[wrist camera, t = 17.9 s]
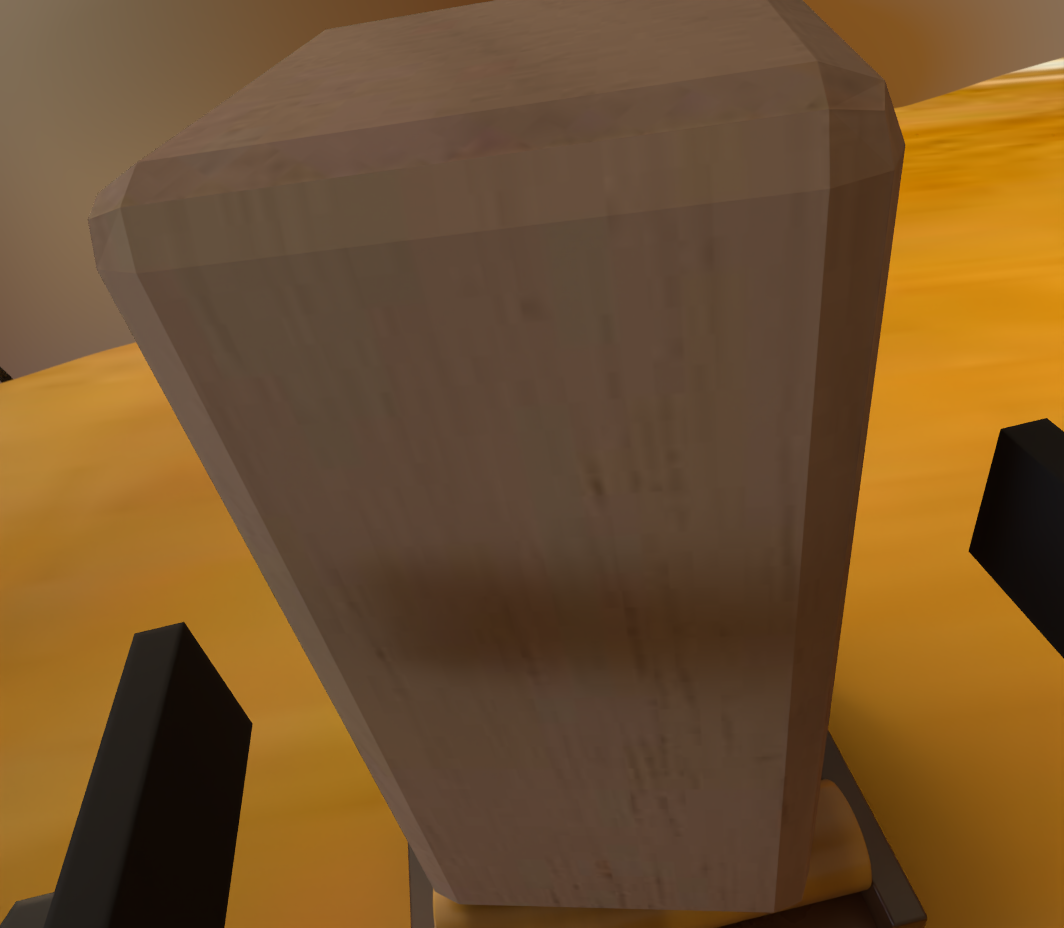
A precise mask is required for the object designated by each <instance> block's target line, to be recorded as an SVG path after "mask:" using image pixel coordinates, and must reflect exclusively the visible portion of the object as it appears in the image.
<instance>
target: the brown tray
mask: <svg viewBox="0 0 1064 928" xmlns="http://www.w3.org/2000/svg"><path fill="white" fill-rule="evenodd" d="M408 858H409V885H410V912H411V928H924V926H925V924H926V921H927V915H926V913H925V911H924V909H923V907H922V905H921V903H920V901H919V900H918V898H917V896H916V894H915V892H914V890H913V888H912V886H911V885H910V883H909V881H908V879H907V877H906V875H905V873H904V871H903V870H902V868H901V866H900V864H899V862H898V860H897V858H896V856H895V855H894V853H893V851H892V849H891V847H890V845H889V843H888V841H887V840H886V838H885V836H884V834H883V832H882V830H881V828H880V826H879V825H878V823H877V821H876V819H875V817H874V815H873V813H872V811H871V809H870V808H869V806H868V804H867V802H866V800H865V798H864V796H863V794H862V793H861V791H860V789H859V787H858V785H857V783H856V781H855V779H854V778H853V776H852V774H851V772H850V770H849V768H848V766H847V764H846V763H845V761H844V759H843V757H842V755H841V753H840V751H839V749H838V748H837V746H836V744H835V742H834V740H833V738H832V736H831V734H830V733H829V731H827V738H826V746H825V753H824V761H823V768H822V776H821V783H820V791H819V798H818V806H817V814H816V821H815V829H814V836H813V844H812V851H811V859H810V866H809V873H808V877H807V881H806V885H805V889H804V894H803V898H802V901H800V902H799V903H797V904H795V905H792V906H789V907H786V908H784V909H781V910H779V911H777V912H774V913H768V912H730V911H693V910H656V909H619V908H581V907H544V906H507V905H469V904H458V903H456V902H454V901H452V900H450V899H448V898H446V897H444V896H442V895H440V894H439V893H437V892H435V890H434V888H433V887H432V885H431V883H430V881H429V879H428V877H427V876H426V874H425V872H424V870H423V868H422V866H421V865H420V863H419V861H418V859H417V857H416V855H415V854H414V852H413V850H412V848H411V846H410V844H409V842H408Z"/></svg>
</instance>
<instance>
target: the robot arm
mask: <svg viewBox="0 0 1064 928" xmlns="http://www.w3.org/2000/svg"><path fill="white" fill-rule="evenodd" d="M11 380H14V379H13V378H12V377H11V376H10V375H9V374H8V373H7V372H6V371H5V370H3V369H2V368H1V367H0V381H1V382H2V383H4V382H7V381H11ZM969 552H970V553H971V554H972V556H973V557H974V558H975V559H976V560H977V561H978V562H979V563H980V565H981V566H982V567H983V568H984V569H985V570H986V571H987V572H988V574H989V575H990V576H991V577H992V578H993V579H994V580H995V581H996V583H997V584H998V585H999V586H1000V587H1001V588H1002V589H1003V590H1004V592H1005V593H1006V594H1007V595H1008V596H1009V597H1010V598H1011V599H1012V601H1013V602H1014V603H1015V604H1016V605H1017V606H1018V607H1019V608H1020V610H1021V611H1022V612H1023V613H1024V614H1025V615H1026V616H1027V618H1028V619H1029V620H1030V621H1031V622H1032V623H1033V624H1034V625H1035V627H1036V628H1037V629H1038V630H1039V631H1040V632H1041V633H1042V634H1043V636H1044V637H1045V638H1046V639H1047V640H1048V641H1049V642H1050V643H1051V645H1052V646H1053V647H1054V648H1055V649H1056V650H1057V651H1058V652H1059V654H1060V655H1061V656H1062V657H1063V658H1064V432H1063V431H1062V430H1061V429H1060V428H1058V427H1057V426H1056V425H1055V424H1053V423H1052V422H1051V421H1050V420H1048V419H1047V418H1045V419H1041V420H1037V421H1033V422H1028V423H1024V424H1020V425H1016V426H1011V427H1007V428H1003V429H1001V430H1000V434H999V437H998V441H997V445H996V449H995V453H994V456H993V460H992V464H991V468H990V472H989V475H988V479H987V483H986V487H985V491H984V494H983V498H982V502H981V506H980V510H979V513H978V517H977V521H976V525H975V529H974V533H973V536H972V540H971V544H970V548H969ZM251 731H252V722H251V721H250V719H249V718H248V716H247V715H246V713H245V712H244V710H243V709H242V708H241V706H240V705H239V703H238V702H237V700H236V699H235V697H234V696H233V694H232V693H231V691H230V690H229V688H228V687H227V685H226V684H225V682H224V681H223V679H222V678H221V676H220V675H219V673H218V672H217V670H216V669H215V667H214V666H213V664H212V663H211V661H210V660H209V658H208V657H207V655H206V654H205V652H204V651H203V649H202V648H201V647H200V645H199V644H198V642H197V641H196V639H195V638H194V636H193V635H192V633H191V632H190V630H189V629H188V627H187V626H186V624H185V623H184V622H182V623H178V624H173V625H169V626H165V627H161V628H157V629H152V630H148V631H144V632H140V633H135V634H134V637H133V641H132V644H131V647H130V650H129V653H128V657H127V660H126V663H125V666H124V670H123V673H122V676H121V679H120V682H119V686H118V689H117V692H116V695H115V699H114V702H113V705H112V708H111V711H110V715H109V718H108V721H107V724H106V728H105V731H104V734H103V737H102V740H101V744H100V747H99V750H98V753H97V757H96V760H95V763H94V766H93V769H92V773H91V776H90V779H89V782H88V786H87V789H86V792H85V795H84V798H83V802H82V805H81V808H80V811H79V815H78V818H77V821H76V824H75V827H74V831H73V834H72V837H71V840H70V844H69V847H68V850H67V853H66V856H65V860H64V863H63V866H62V869H61V873H60V876H59V879H58V882H57V885H56V889H55V892H53V893H49V894H45V895H41V896H37V897H33V898H29V899H25V900H20V901H16V902H15V904H14V905H13V907H12V908H11V910H10V911H9V913H8V914H7V916H6V917H5V919H4V920H3V922H2V923H1V925H0V928H224V926H225V919H226V912H227V904H228V897H229V890H230V883H231V875H232V868H233V861H234V854H235V847H236V839H237V832H238V825H239V818H240V810H241V803H242V796H243V789H244V781H245V774H246V767H247V760H248V753H249V745H250V738H251Z"/></svg>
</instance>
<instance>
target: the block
mask: <svg viewBox="0 0 1064 928" xmlns="http://www.w3.org/2000/svg"><path fill="white" fill-rule="evenodd" d="M904 151H905V142H904V139H903V136H902V133H901V130H900V127H899V123H898V120H897V117H896V114H895V111H894V108H893V105H892V101H891V98H890V95H889V92H888V89H887V85H886V82H885V80H884V79H883V78H882V77H881V76H880V75H879V74H878V73H877V72H876V71H875V70H873V68H872V67H870V66H869V65H868V64H867V63H866V62H865V61H864V60H863V59H862V58H861V57H860V56H859V55H858V54H857V53H856V52H855V51H854V50H853V49H852V48H851V47H850V46H849V45H848V44H847V43H846V42H844V40H843V39H842V38H841V37H840V36H839V35H837V34H836V33H835V32H834V31H833V30H832V29H831V28H830V27H829V26H828V25H827V24H826V23H825V22H824V21H823V20H822V19H821V18H820V17H819V16H818V15H817V14H816V13H815V12H814V11H813V10H812V9H811V8H810V7H809V6H808V5H807V4H806V3H805V2H804V1H803V0H495V1H489V2H483V3H477V4H472V5H466V6H460V7H454V8H449V9H443V10H437V11H432V12H425V13H420V14H414V15H408V16H403V17H396V18H391V19H385V20H379V21H374V22H368V23H362V24H356V25H350V26H345V27H339V28H333V29H327V30H325V31H323V32H322V33H321V34H319V35H318V36H316V37H315V38H313V39H312V40H311V41H309V42H308V43H306V44H305V45H304V46H302V47H301V48H299V49H298V50H296V51H295V52H293V53H292V54H291V55H289V56H288V57H286V58H285V59H283V60H282V61H281V62H279V63H278V64H277V65H275V66H274V67H272V68H271V69H269V70H268V71H266V72H265V73H264V74H262V75H261V76H259V77H258V78H256V79H255V80H254V81H252V82H251V83H249V84H248V85H246V86H245V87H244V88H242V89H241V90H239V91H238V92H236V93H235V94H234V95H232V96H231V97H229V98H228V99H227V100H225V101H224V102H222V103H221V104H220V105H218V106H217V107H215V108H214V109H212V110H211V111H210V112H208V113H207V114H205V115H204V116H202V117H201V118H199V119H198V120H197V121H195V122H194V123H192V124H191V125H189V126H188V127H187V128H185V129H184V130H182V131H181V132H180V133H178V134H177V135H175V136H174V137H172V138H171V139H169V140H168V141H167V142H165V143H164V144H162V145H161V146H159V147H158V148H157V149H155V150H154V151H152V152H151V153H149V154H148V155H147V156H145V157H144V158H142V159H141V160H139V161H138V162H137V163H135V164H134V165H133V166H132V167H130V168H129V169H128V170H126V171H125V172H124V173H123V174H121V175H120V176H119V177H118V178H116V179H115V180H114V181H112V182H111V183H110V184H109V185H107V186H106V187H105V188H104V189H102V190H101V191H100V192H98V193H97V196H96V199H95V202H94V204H93V207H92V210H91V213H90V215H89V218H88V223H89V229H90V234H91V240H92V245H93V251H94V257H95V262H96V268H97V271H98V273H99V274H100V276H101V278H102V280H103V282H104V284H105V285H106V287H107V289H108V291H109V293H110V295H111V296H112V298H113V300H114V302H115V304H116V306H117V307H118V309H119V311H120V313H121V315H122V317H123V318H124V320H125V322H126V324H127V326H128V328H129V330H130V331H131V333H132V335H133V337H134V339H135V340H136V342H137V344H138V346H139V348H140V350H141V352H142V354H143V355H144V357H145V359H146V361H147V363H148V365H149V366H150V368H151V370H152V372H153V374H154V376H155V377H156V379H157V381H158V383H159V385H160V387H161V388H162V390H163V392H164V394H165V396H166V398H167V399H168V401H169V403H170V405H171V407H172V409H173V410H174V412H175V414H176V416H177V418H178V420H179V422H180V423H181V425H182V427H183V429H184V431H185V433H186V434H187V436H188V438H189V440H190V442H191V444H192V445H193V447H194V449H195V451H196V453H197V455H198V456H199V458H200V460H201V462H202V464H203V466H204V467H205V469H206V471H207V473H208V475H209V477H210V479H211V480H212V482H213V484H214V486H215V488H216V490H217V491H218V493H219V495H220V497H221V499H222V501H223V502H224V504H225V506H226V508H227V510H228V512H229V513H230V515H231V517H232V519H233V521H234V523H235V524H236V526H237V528H238V530H239V532H240V534H241V535H242V537H243V539H244V541H245V543H246V545H247V547H248V548H249V550H250V552H251V554H252V556H253V558H254V559H255V561H256V563H257V565H258V567H259V569H260V570H261V572H262V574H263V576H264V578H265V580H266V581H267V583H268V585H269V587H270V589H271V591H272V592H273V594H274V596H275V598H276V600H277V602H278V604H279V605H280V607H281V609H282V611H283V613H284V615H285V616H286V618H287V620H288V622H289V624H290V626H291V627H292V629H293V631H294V633H295V635H296V637H297V638H298V640H299V642H300V644H301V646H302V648H303V649H304V651H305V653H306V655H307V657H308V659H309V661H310V662H311V664H312V666H313V668H314V670H315V672H316V673H317V675H318V677H319V679H320V681H321V683H322V684H323V686H324V688H325V690H326V692H327V694H328V695H329V697H330V699H331V701H332V703H333V705H334V706H335V708H336V710H337V712H338V714H339V716H340V717H341V719H342V721H343V723H344V725H345V727H346V729H347V730H348V732H349V734H350V736H351V738H352V740H353V741H354V743H355V745H356V747H357V749H358V751H359V752H360V754H361V756H362V758H363V760H364V762H365V763H366V765H367V767H368V769H369V771H370V773H371V774H372V776H373V778H374V780H375V782H376V784H377V786H378V787H379V789H380V791H381V793H382V795H383V797H384V798H385V800H386V802H387V804H388V806H389V808H390V809H391V811H392V813H393V815H394V817H395V819H396V820H397V822H398V824H399V826H400V828H401V830H402V831H403V833H404V835H405V837H406V839H407V841H408V842H409V844H410V846H411V848H412V850H413V852H414V854H415V855H416V857H417V859H418V861H419V863H420V865H421V866H422V868H423V870H424V872H425V874H426V876H427V877H428V879H429V881H430V883H431V885H432V887H433V888H434V890H435V892H437V893H439V894H440V895H442V896H444V897H446V898H448V899H450V900H452V901H454V902H456V903H458V904H469V905H507V906H544V907H581V908H619V909H656V910H693V911H730V912H768V913H774V912H777V911H779V910H781V909H784V908H786V907H789V906H792V905H795V904H797V903H799V902H800V901H802V898H803V894H804V889H805V885H806V881H807V877H808V873H809V866H810V859H811V851H812V844H813V836H814V829H815V821H816V814H817V806H818V798H819V791H820V783H821V776H822V768H823V761H824V753H825V746H826V738H827V731H828V723H829V716H830V708H831V701H832V693H833V686H834V678H835V670H836V663H837V655H838V648H839V640H840V633H841V625H842V618H843V610H844V603H845V595H846V588H847V580H848V573H849V565H850V557H851V550H852V542H853V535H854V527H855V520H856V512H857V505H858V497H859V490H860V482H861V475H862V467H863V460H864V452H865V444H866V437H867V429H868V422H869V414H870V407H871V399H872V392H873V384H874V377H875V369H876V362H877V354H878V347H879V339H880V331H881V324H882V316H883V309H884V301H885V294H886V286H887V279H888V271H889V264H890V256H891V249H892V241H893V234H894V226H895V219H896V211H897V203H898V196H899V188H900V181H901V173H902V166H903V158H904Z"/></svg>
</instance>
